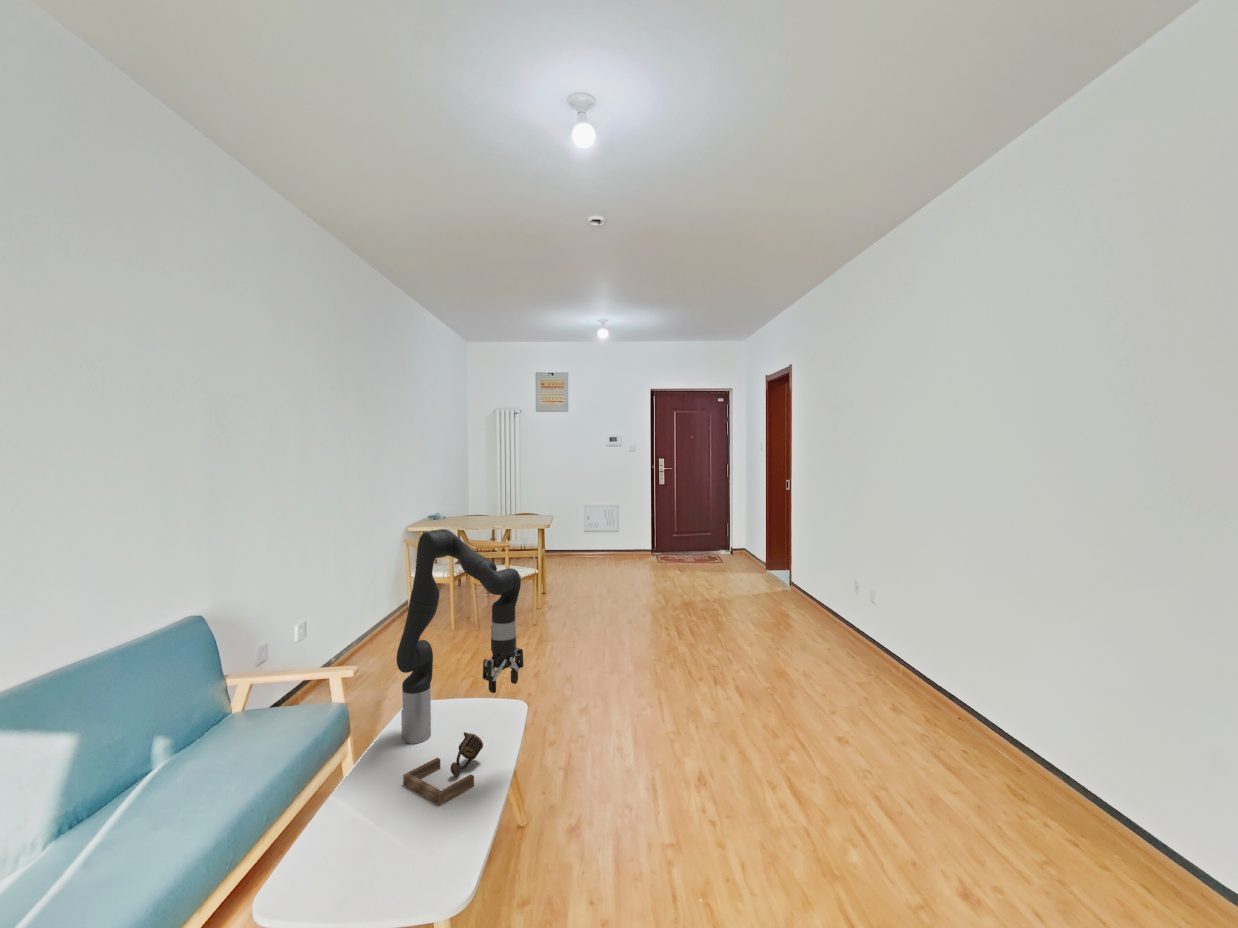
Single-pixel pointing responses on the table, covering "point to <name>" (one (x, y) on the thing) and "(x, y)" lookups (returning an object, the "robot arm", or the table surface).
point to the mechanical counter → (467, 751)
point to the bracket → (431, 792)
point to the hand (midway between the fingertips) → (503, 687)
